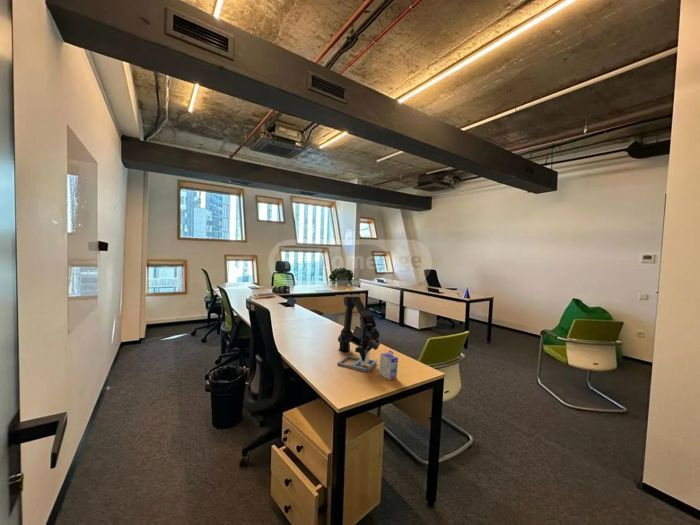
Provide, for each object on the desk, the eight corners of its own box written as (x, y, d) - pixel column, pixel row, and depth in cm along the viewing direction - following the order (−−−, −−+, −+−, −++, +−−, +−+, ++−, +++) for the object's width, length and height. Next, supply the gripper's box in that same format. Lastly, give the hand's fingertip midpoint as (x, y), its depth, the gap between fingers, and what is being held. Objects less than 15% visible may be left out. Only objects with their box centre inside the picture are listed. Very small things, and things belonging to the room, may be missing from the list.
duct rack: (337, 365, 179) (337, 361, 179) (348, 357, 193) (348, 354, 193) (367, 372, 171) (367, 369, 171) (376, 363, 185) (376, 360, 184)
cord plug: (360, 364, 179) (361, 351, 178) (362, 362, 182) (363, 349, 182) (366, 365, 177) (367, 353, 177) (368, 363, 181) (369, 351, 180)
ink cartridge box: (397, 378, 165) (398, 353, 164) (389, 380, 162) (391, 355, 161) (386, 372, 173) (387, 348, 172) (378, 374, 170) (380, 349, 169)
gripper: (373, 341, 167) (371, 368, 168) (383, 333, 184) (382, 357, 185) (355, 338, 172) (354, 363, 173) (367, 330, 189) (365, 354, 189)
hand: (364, 359), depth 180 cm, fingers open, 4 cm apart
